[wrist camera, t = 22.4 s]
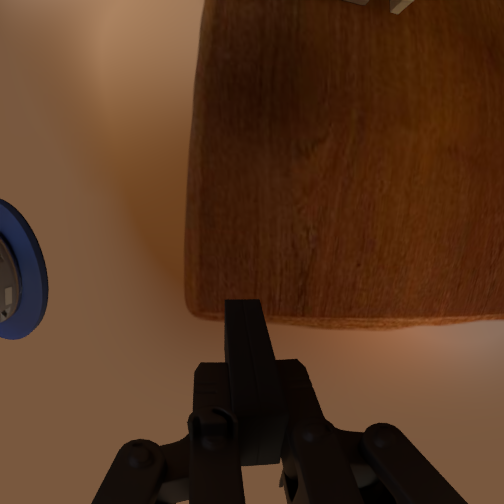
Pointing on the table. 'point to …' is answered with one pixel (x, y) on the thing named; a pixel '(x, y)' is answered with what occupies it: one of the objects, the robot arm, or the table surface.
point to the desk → (399, 5)
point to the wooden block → (358, 1)
